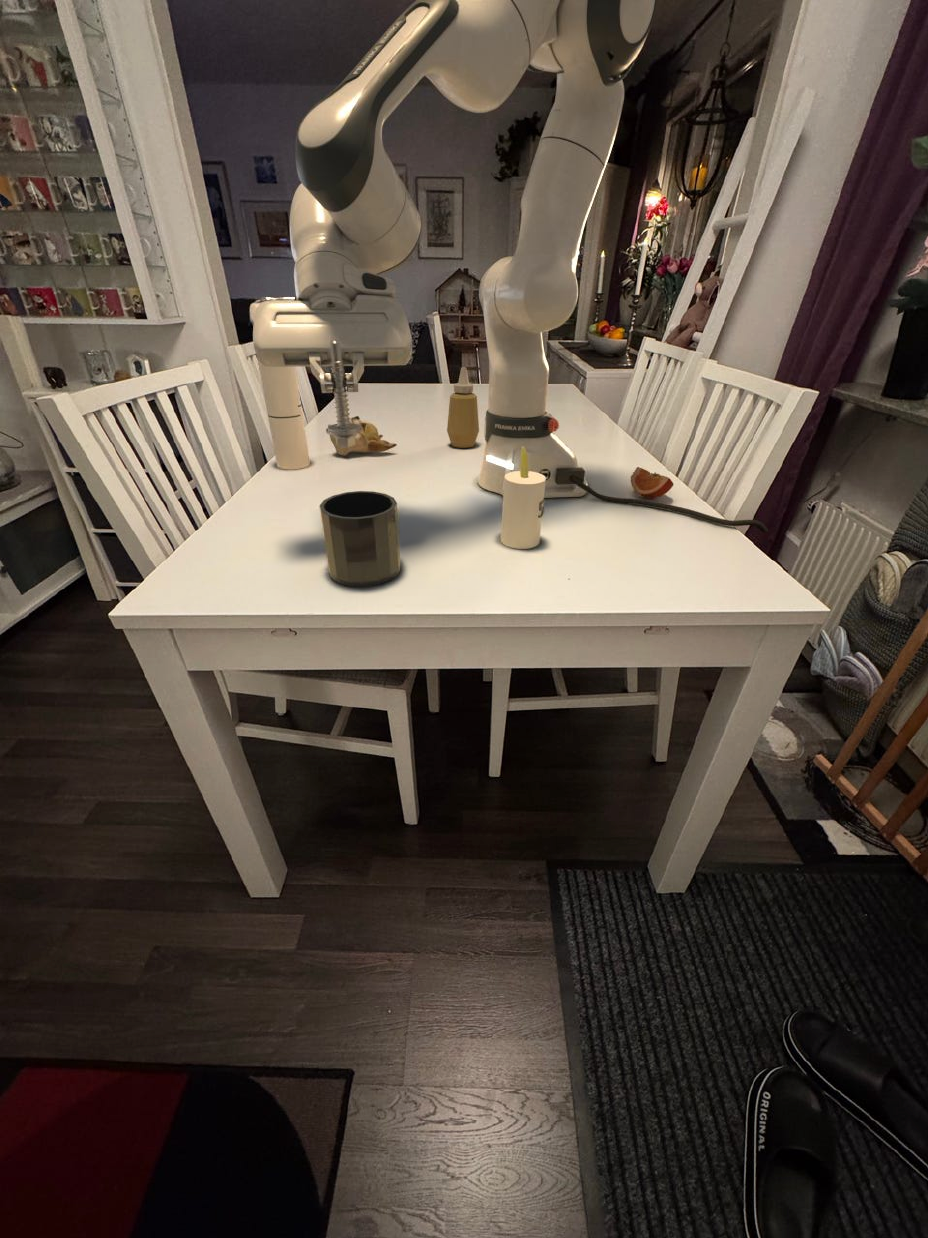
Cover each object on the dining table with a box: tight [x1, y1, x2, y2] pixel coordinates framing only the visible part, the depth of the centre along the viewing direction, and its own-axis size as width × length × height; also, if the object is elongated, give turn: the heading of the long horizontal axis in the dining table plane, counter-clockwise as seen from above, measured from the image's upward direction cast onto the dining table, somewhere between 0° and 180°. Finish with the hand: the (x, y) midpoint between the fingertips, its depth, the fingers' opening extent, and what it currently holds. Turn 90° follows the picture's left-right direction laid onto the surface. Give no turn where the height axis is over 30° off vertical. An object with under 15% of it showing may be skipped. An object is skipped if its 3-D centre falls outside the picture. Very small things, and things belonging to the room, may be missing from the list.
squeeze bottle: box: [446, 366, 480, 449], centre depth 127 cm, size 8×8×18 cm
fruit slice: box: [630, 466, 674, 500], centre depth 101 cm, size 8×7×5 cm
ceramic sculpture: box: [327, 415, 398, 457], centre depth 123 cm, size 11×9×15 cm
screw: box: [325, 339, 362, 447], centre depth 68 cm, size 13×5×5 cm
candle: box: [500, 446, 546, 550], centre depth 81 cm, size 6×6×15 cm
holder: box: [318, 490, 402, 588], centre depth 73 cm, size 10×10×10 cm
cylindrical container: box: [256, 357, 311, 470], centre depth 110 cm, size 7×7×25 cm
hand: (340, 389), depth 67 cm, fingers closed on screw, 2 cm apart
